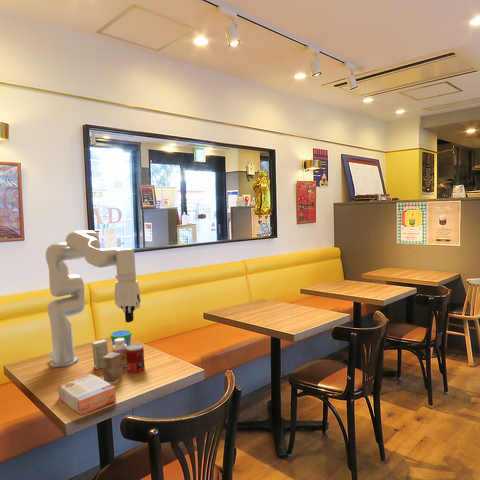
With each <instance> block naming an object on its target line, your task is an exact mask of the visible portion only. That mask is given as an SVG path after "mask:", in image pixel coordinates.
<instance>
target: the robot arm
mask: <svg viewBox="0 0 480 480" xmlns="http://www.w3.org/2000/svg"><path fill="white" fill-rule="evenodd" d="M82 258H84V260H85V261H86V263H88V264H89V265H92V266H94V267H96V268H107V267H112V266H115V267H116V275H115V279H116V280H117V281H116V282H115V285H114V304H115V305H116V307H117V308H119V309H121V310H122V311H123V313H124V319H125V323H131V322H132V323H133V322H134V318H135V317H134V312H135V310H137V309H140V308H141V305H140V304H141V292H140V285H139V282H138V280H137V275H136V274H137V273H136V271H137V270H136V260H135V259H136V258H135V251H134V248H128V247H127V248H126V247H125V248H122V247H110V248H101V242H100V239H99V235H98V234H97V233H96V232H95V231H94V230H89V229H88V230H75V231H72V232H70V233H68V234H67V236H66V238H65V242H58V243H52V244H51V245H49V246H48V247H47V248H46V251H45V261H46V263H47V267H48V280H49V281H48V282H49V292H50V294H51V296H52V297H55V298H56V297H57V298H58V297H59V298H58V299H54V300H52V301H50V302H49V303H48V305H47V307H46V311H47V314H48V315H47V316H48V318H49V324H50V332H51V343H52V344H51V345H52V351H51V352H50V354H49V355H48V358H50V359H51V361H50V362H49V364H50V366H51V367H54V368H63V367H67V366H71V365H74V364H76V363H77V362H78V361H79V357H78V356H76V355H75V347H74V346H75V345H74V331H73V325H72V323H71V322H70V320H69V319H68V318H69V317H73V316H75V315H76V316H77V315H80V314H81V313H83V312H84V311H85V306H86V304H85V303H86V298H85V296H86V295H85V284H84V280H83V278H82V276H80V275H79V274H69V267H68V264H67V263H66V262H65V261H69V260H70V261H71V260H79V259H82ZM69 295H70V296H69ZM65 296H67V297H65ZM60 297H62V298H60Z"/></svg>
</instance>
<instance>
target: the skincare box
mask: <svg viewBox="0 0 480 480" xmlns="http://www.w3.org/2000/svg"><path fill="white" fill-rule="evenodd" d="M91 345H92V355H93V356H92V357H93V366H94V368H95V370H98V369H103V361H102V357H104V356H106V355H107V354H109V347H108V341H107V340H106V339H105V338H104V339H99V340H95V341H92V342H91Z"/></svg>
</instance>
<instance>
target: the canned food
mask: <svg viewBox="0 0 480 480" xmlns="http://www.w3.org/2000/svg"><path fill="white" fill-rule="evenodd" d="M144 350H145V349H144V345H143V344H141V343H133V344H130V345H129V346H127V347H126V361H127V366H126V370H127V372H128V373H130V374H138V373H141V372H144V370H145V367H146V366H145V352H144Z"/></svg>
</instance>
